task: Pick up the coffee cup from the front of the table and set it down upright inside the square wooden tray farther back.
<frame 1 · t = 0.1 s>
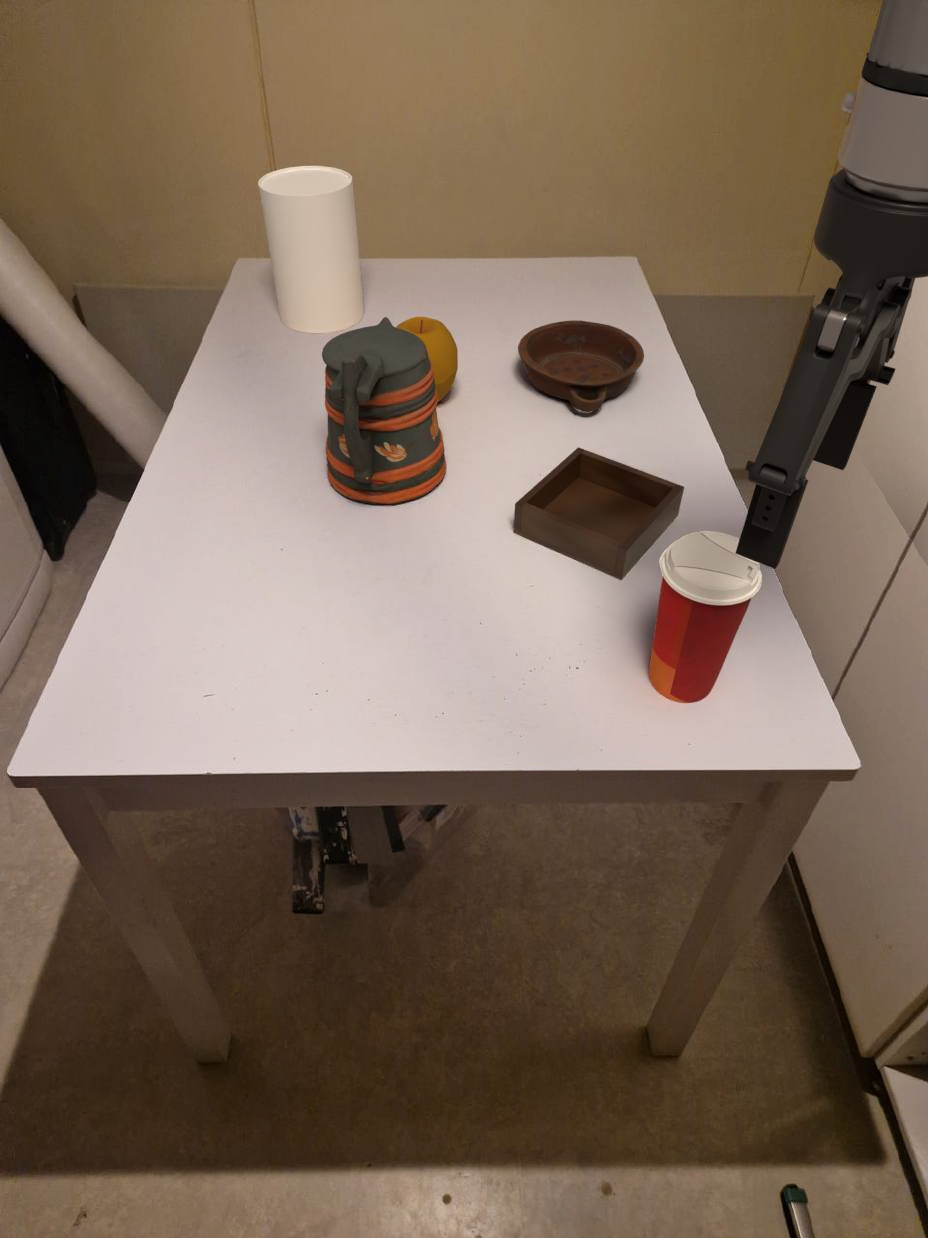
hand: (794, 507, 58), 24 cm above the table, tool pointing down, fingers open, 13 cm apart
dish: (577, 381, 118), on the table
square wooden tray: (596, 524, 95), on the table
canister: (322, 315, 134), on the table
coffee cup: (679, 680, 78), on the table
apple: (423, 402, 114), on the table
beer stein: (384, 483, 101), on the table
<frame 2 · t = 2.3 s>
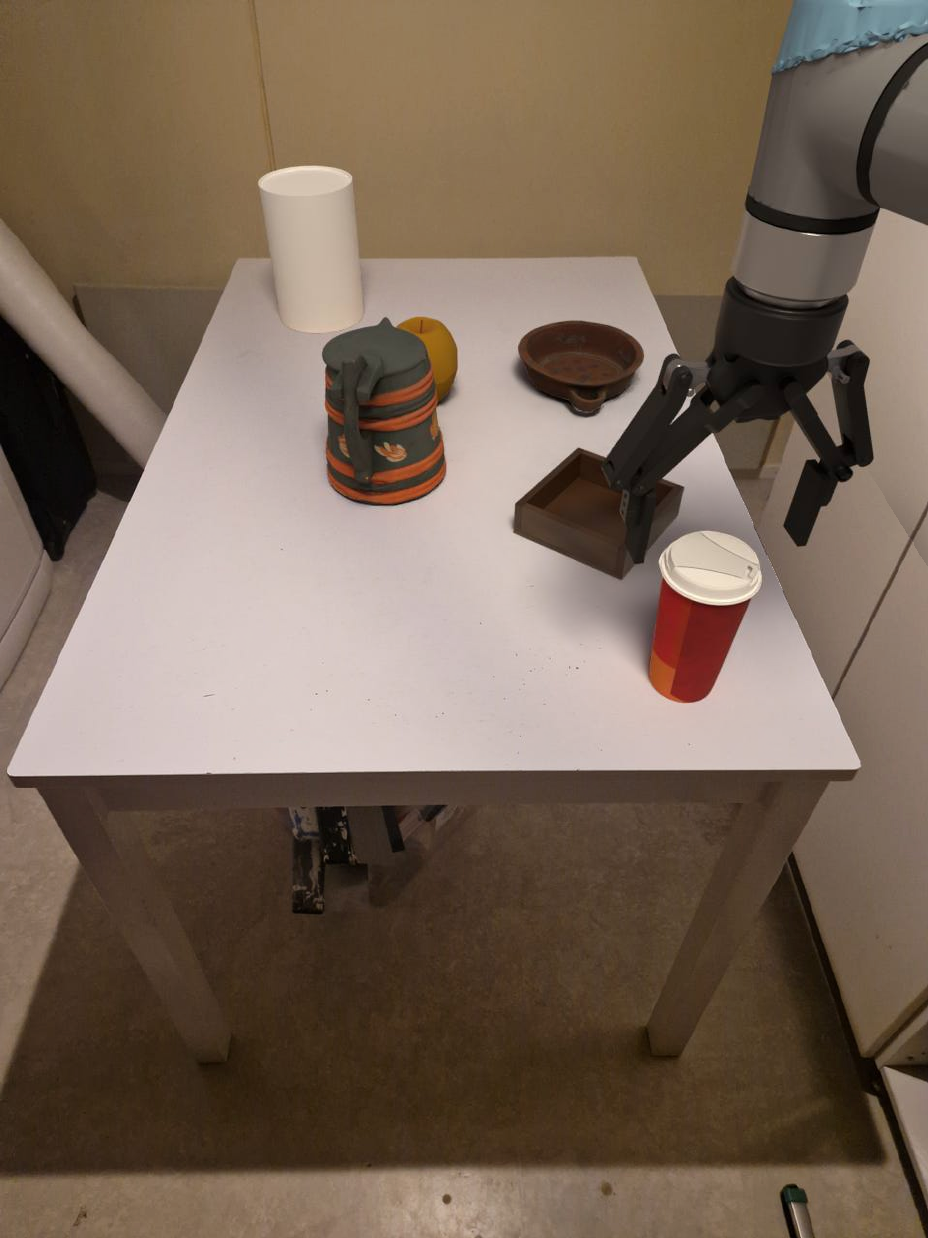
hand: (714, 544, 67), 16 cm above the table, tool pointing down, fingers open, 13 cm apart
nothing on the table moved.
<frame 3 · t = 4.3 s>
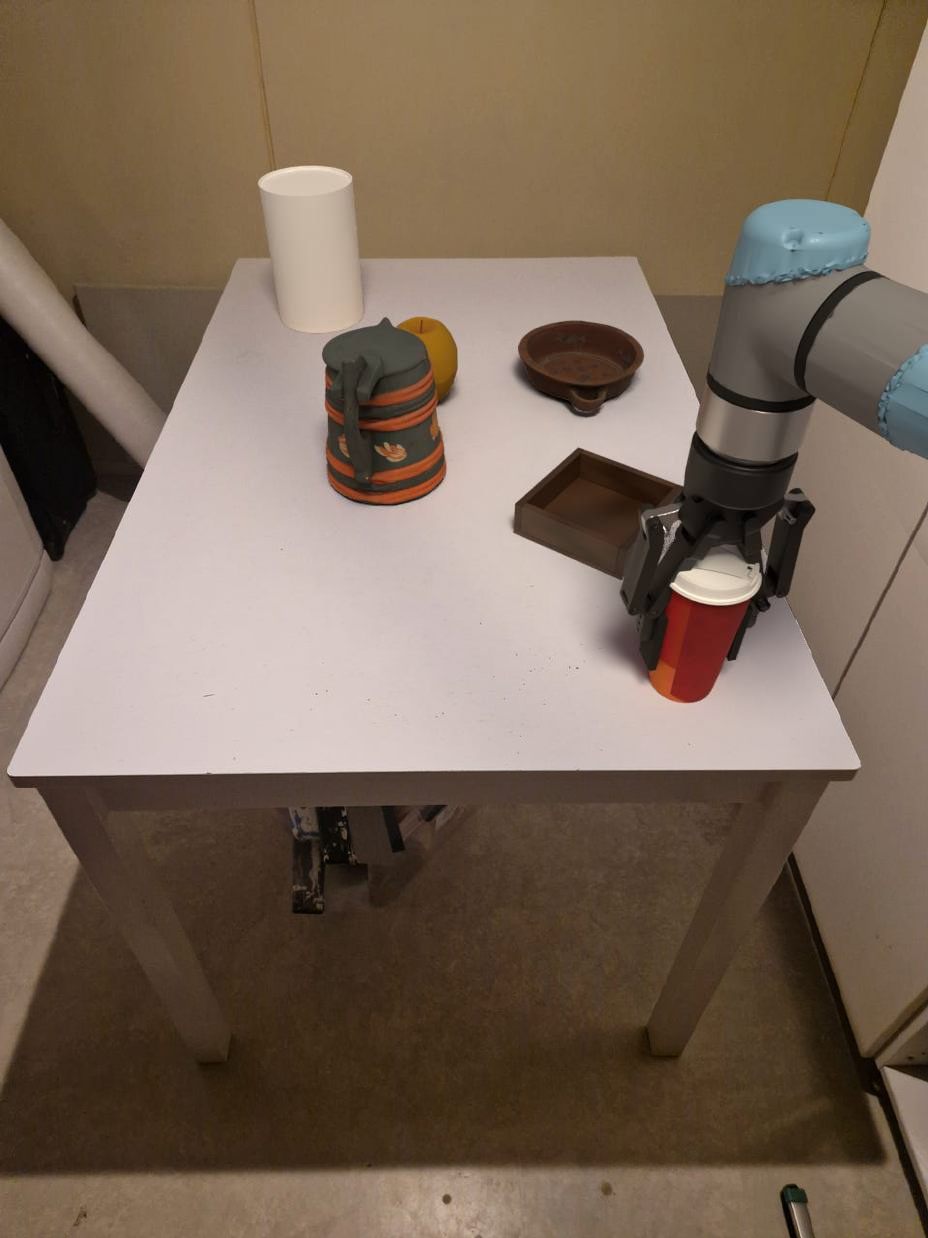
hand: (687, 654, 76), 3 cm above the table, tool pointing down, fingers closed on coffee cup, 7 cm apart
coffee cup: (679, 680, 78), on the table, touching gripper
everything else where it was.
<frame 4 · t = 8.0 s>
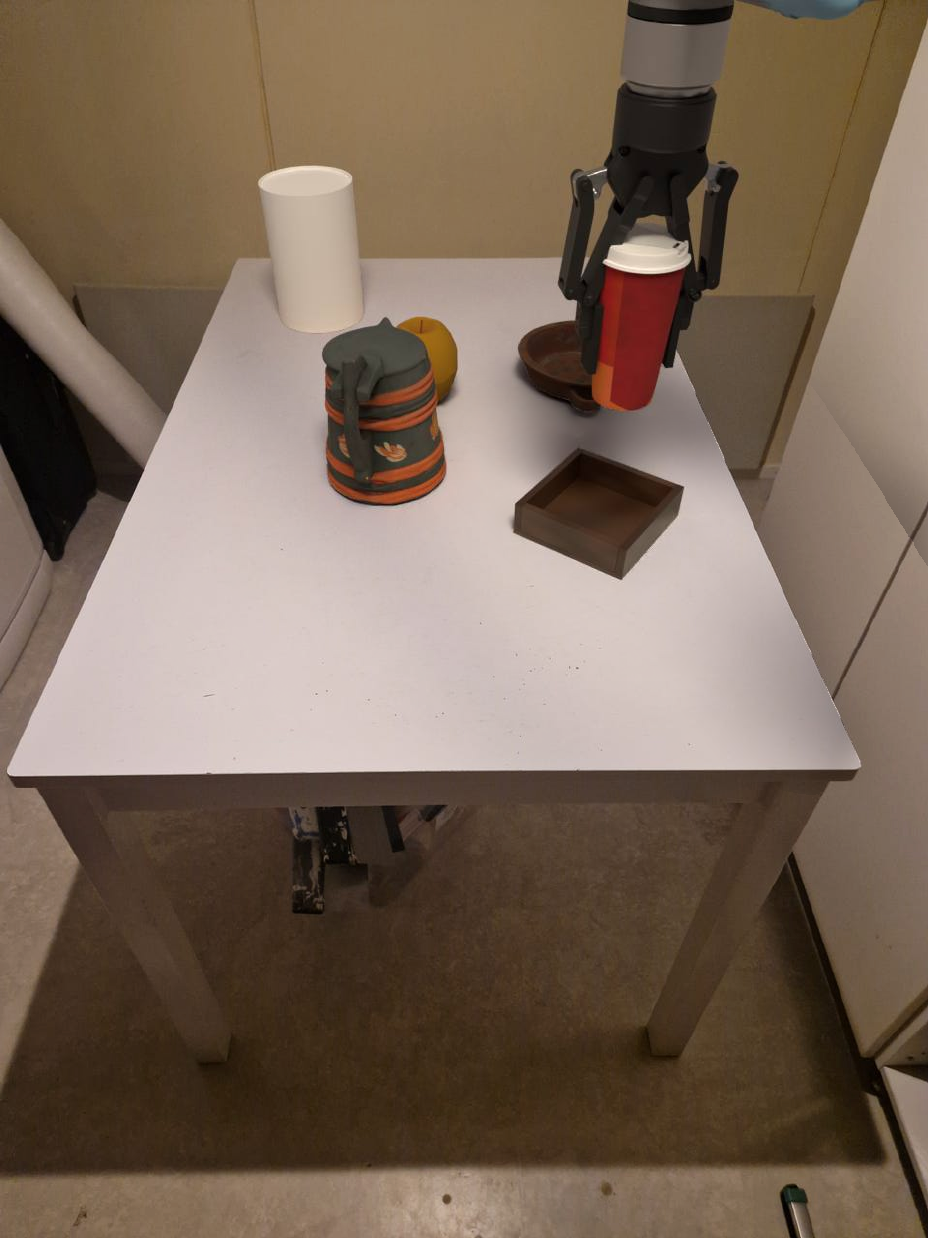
hand: (626, 363, 79), 21 cm above the table, tool pointing down, fingers closed on coffee cup, 7 cm apart
coffee cup: (621, 396, 81), point 17 cm above the table, touching gripper
everything else where it was.
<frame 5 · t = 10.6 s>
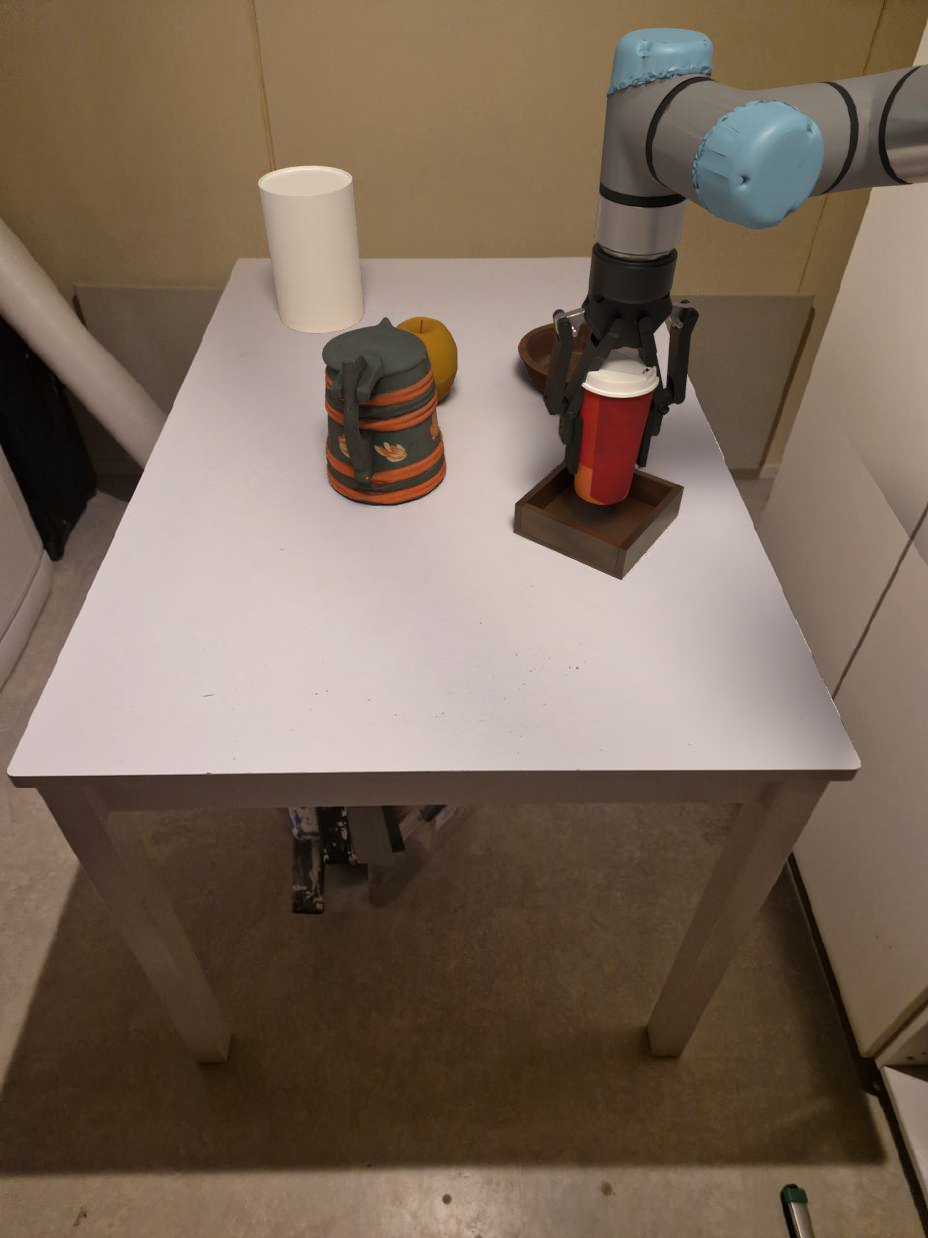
hand: (604, 463, 89), 8 cm above the table, tool pointing down, fingers closed on coffee cup, 7 cm apart
coffee cup: (600, 489, 91), point 5 cm above the table, touching gripper
everything else where it was.
when the fingers open (4 cm above the table, at t = 12.1 s): coffee cup stays where it is, resting on square wooden tray.
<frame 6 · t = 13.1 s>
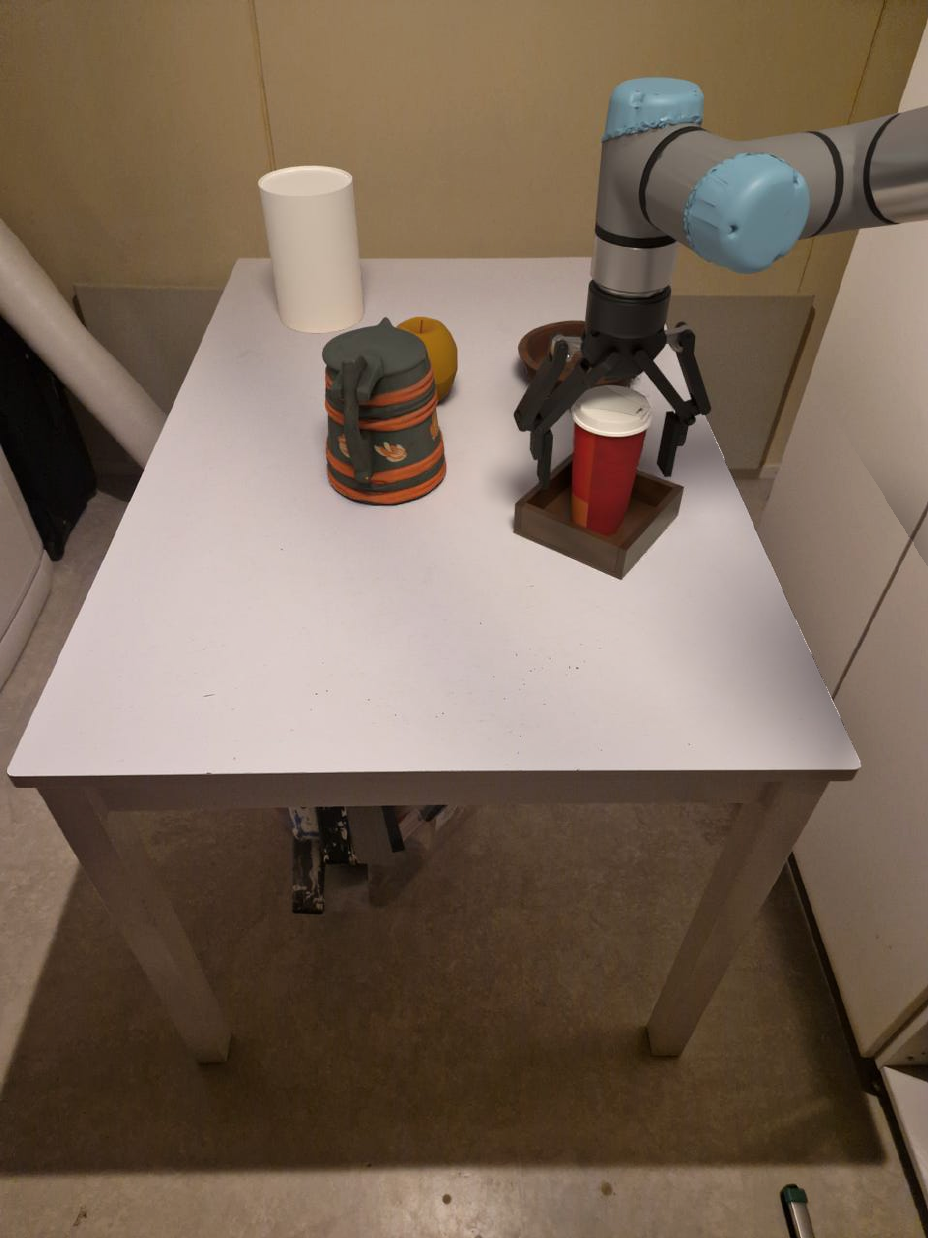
hand: (603, 476, 90), 7 cm above the table, tool pointing down, fingers open, 13 cm apart
coffee cup: (596, 521, 94), resting on square wooden tray
everything else where it was.
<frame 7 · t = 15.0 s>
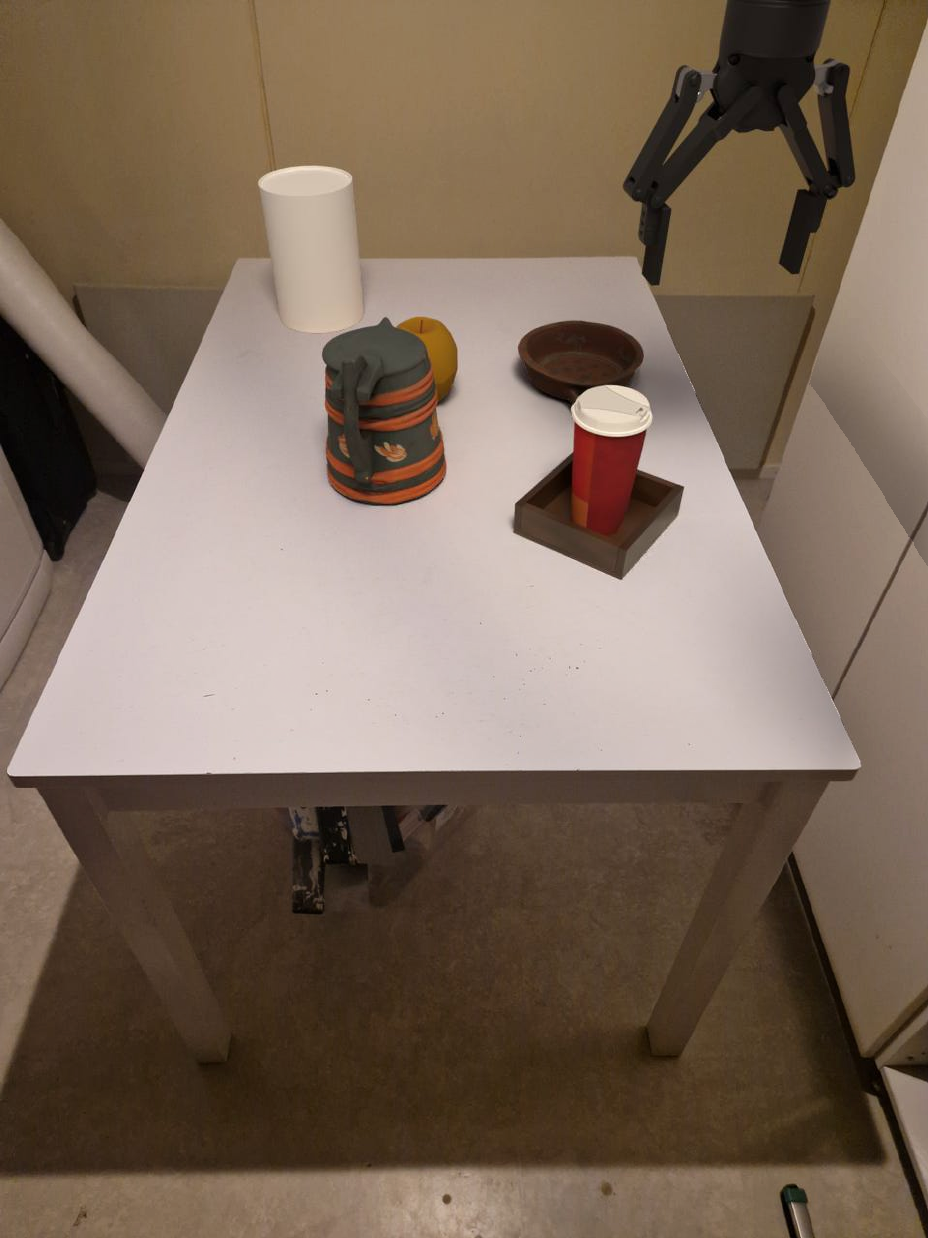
hand: (720, 274, 77), 28 cm above the table, tool pointing down, fingers open, 13 cm apart
nothing on the table moved.
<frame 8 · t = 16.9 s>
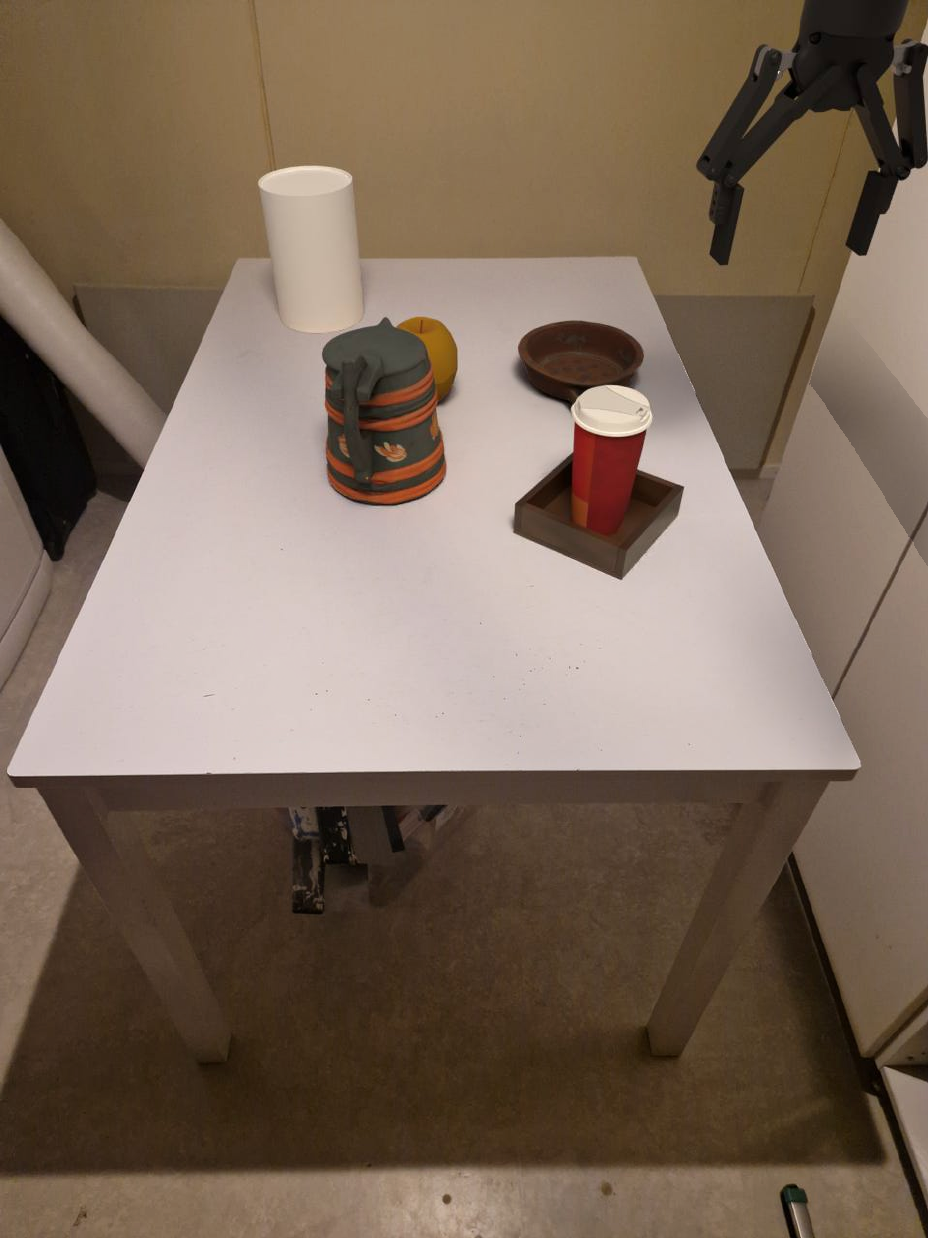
hand: (787, 255, 77), 29 cm above the table, tool pointing down, fingers open, 13 cm apart
nothing on the table moved.
at the end: coffee cup 0.1 cm off-centre in the square wooden tray, point 0.4 cm above the square wooden tray's base; coffee cup tilted 0°; the gripper is holding nothing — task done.
